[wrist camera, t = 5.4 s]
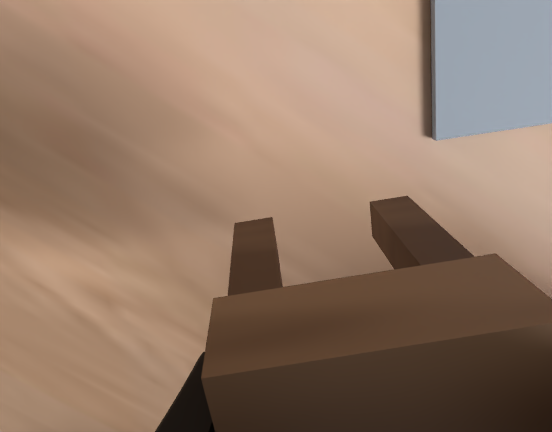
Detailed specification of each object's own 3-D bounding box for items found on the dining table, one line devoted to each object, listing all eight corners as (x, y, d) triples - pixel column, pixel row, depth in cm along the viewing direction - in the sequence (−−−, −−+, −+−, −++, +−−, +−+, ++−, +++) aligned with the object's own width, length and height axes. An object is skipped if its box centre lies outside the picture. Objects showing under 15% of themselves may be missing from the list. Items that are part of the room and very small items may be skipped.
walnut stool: (420, 343, 13) (547, 561, 7) (256, 370, 13) (261, 606, 7) (414, 187, 11) (576, 319, 6) (225, 217, 11) (201, 379, 6)
